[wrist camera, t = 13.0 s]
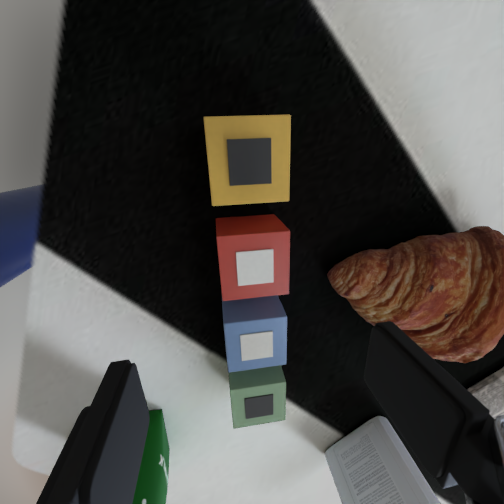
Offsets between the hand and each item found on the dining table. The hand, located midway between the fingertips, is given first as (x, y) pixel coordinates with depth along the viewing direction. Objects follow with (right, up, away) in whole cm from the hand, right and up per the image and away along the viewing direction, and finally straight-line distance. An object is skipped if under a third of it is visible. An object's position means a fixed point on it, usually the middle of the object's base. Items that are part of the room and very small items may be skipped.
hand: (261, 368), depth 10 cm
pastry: (+17, +1, +17) cm, 24 cm away
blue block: (-1, -1, +15) cm, 15 cm away
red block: (-1, +5, +13) cm, 14 cm away
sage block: (0, -8, +18) cm, 19 cm away
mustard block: (-1, +12, +10) cm, 15 cm away
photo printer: (+14, -21, +26) cm, 36 cm away
